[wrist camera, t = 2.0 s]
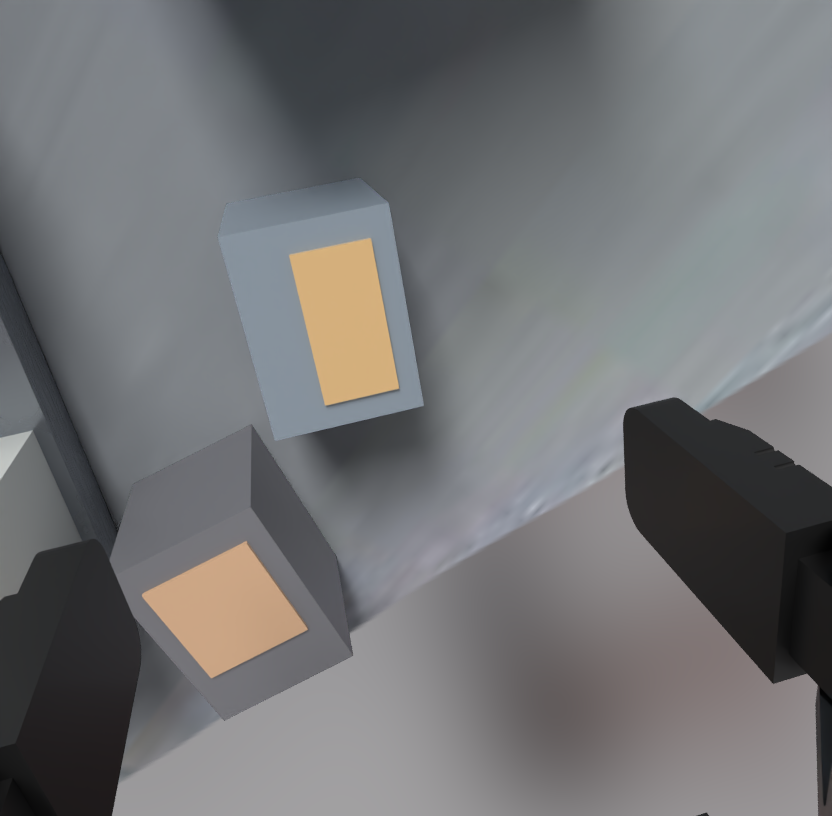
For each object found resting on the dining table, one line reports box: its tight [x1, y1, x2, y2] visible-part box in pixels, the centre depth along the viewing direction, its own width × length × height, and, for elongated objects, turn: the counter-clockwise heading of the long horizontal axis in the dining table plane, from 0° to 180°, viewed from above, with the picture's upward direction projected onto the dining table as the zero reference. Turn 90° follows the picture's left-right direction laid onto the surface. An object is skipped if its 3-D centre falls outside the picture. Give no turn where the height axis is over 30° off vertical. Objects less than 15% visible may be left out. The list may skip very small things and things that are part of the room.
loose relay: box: [109, 424, 353, 721], centre depth 26 cm, size 5×7×6 cm
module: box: [218, 177, 424, 441], centre depth 22 cm, size 5×6×6 cm
